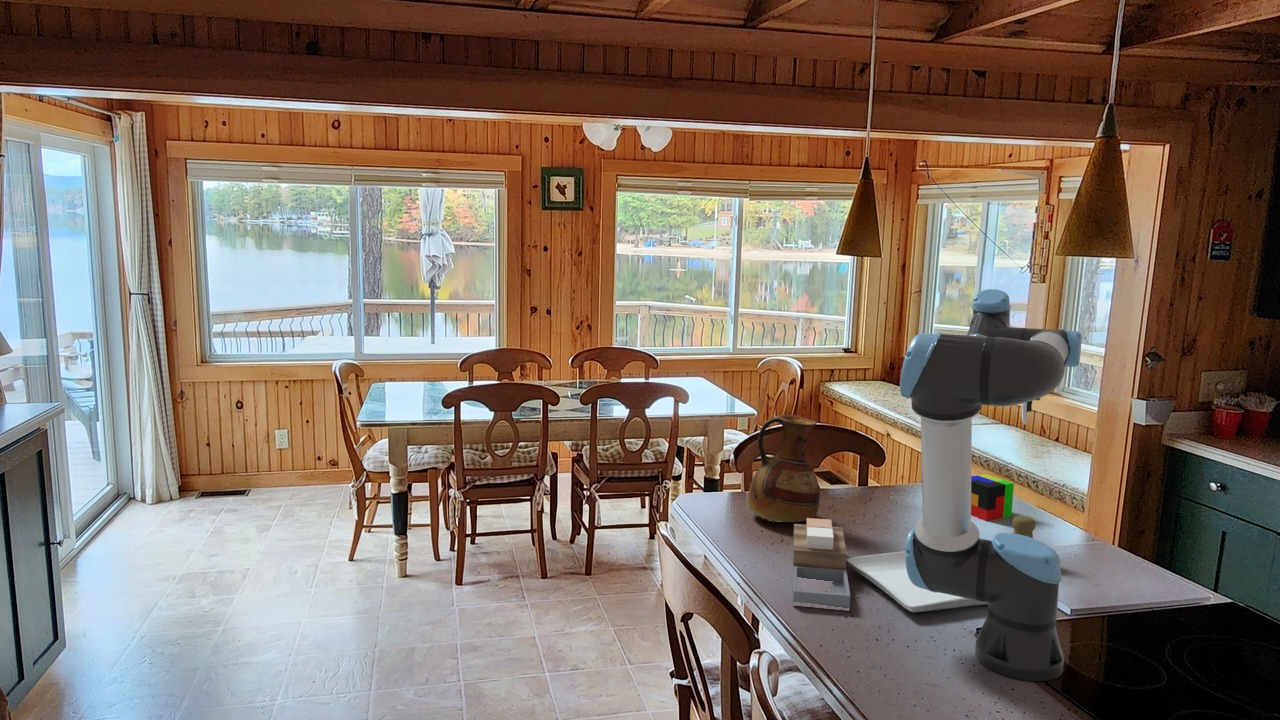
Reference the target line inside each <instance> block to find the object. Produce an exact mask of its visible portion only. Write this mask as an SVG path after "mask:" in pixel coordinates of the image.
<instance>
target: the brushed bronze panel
mask: <svg viewBox="0 0 1280 720" xmlns="http://www.w3.org/2000/svg"><path fill="white" fill-rule="evenodd" d="M832 530H833V537H834V538H833V550H829V549H815V548H807V538H806V524H802V523H800V524H799V523H794V524H793V542H792V543H793V544H792V548H793V549H792V563H793V564H792V567H793V566H800V567H813V568H826V569H839V570H846V571H847V561H846V560H847V558H848V557H847V556H848V553H847V547H846V542H845V541H846V540H845V535H844V530H843V526H832Z"/></svg>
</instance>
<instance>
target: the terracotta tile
mask: <svg viewBox="0 0 1280 720" xmlns="http://www.w3.org/2000/svg"><path fill="white" fill-rule="evenodd" d="M805 522H806V524H805V525H806V538H807V527H815V528H830V529H832V527H833V524H832V523H833V521H832V519H830V518H829V519H827V518H826V519H825V518H815V517H814V518H807V521H805Z"/></svg>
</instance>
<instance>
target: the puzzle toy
mask: <svg viewBox="0 0 1280 720" xmlns="http://www.w3.org/2000/svg"><path fill="white" fill-rule="evenodd" d="M1014 484H1015V483H1014V482H1011V481H1009V480H1005V479H1002V478H999V477H997V476H996V477H995V476H993V475H990V474H985V473H984V474H979V475H973V476H972V475H971V515H972V516H971V517H975V518H976V517H977V519H980V520H981V521H984V522H990V521H994V520H996V521H997V520H1000V519H1004V518H1010V517H1012V516H1013V515H1012V513H1013V503H1014V502H1013V501H1014V486H1015V485H1014Z"/></svg>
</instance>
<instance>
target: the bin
mask: <svg viewBox="0 0 1280 720" xmlns="http://www.w3.org/2000/svg"><path fill="white" fill-rule="evenodd" d="M797 577H801V578H807V579H816V580H824V581H833V583H832V584H833V585H834V586H833V585H832V586H833V587H832V586H831V588H833V591H834V592H835V593H827V592H815V591H803V590H797ZM829 587H830V586H829ZM835 588H836V589H835ZM834 589H835V590H836V591H835V590H834ZM831 590H832V589H831ZM837 590H838V591H837ZM850 590H851V589H850V585H849V579H848V572H847V569H846V570H839V569H826V568H813V567H800V566H793V565H792V603H793V602H800V603H811V604H819V605H827V606H834V607H843V608H850V609H851V592H850ZM831 592H832V591H831Z"/></svg>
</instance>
